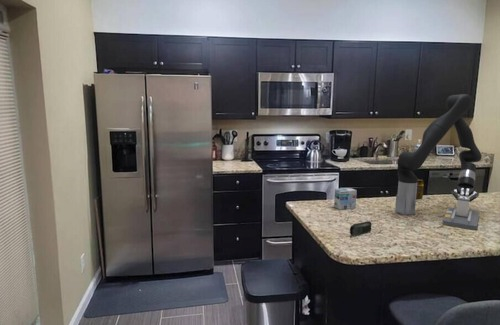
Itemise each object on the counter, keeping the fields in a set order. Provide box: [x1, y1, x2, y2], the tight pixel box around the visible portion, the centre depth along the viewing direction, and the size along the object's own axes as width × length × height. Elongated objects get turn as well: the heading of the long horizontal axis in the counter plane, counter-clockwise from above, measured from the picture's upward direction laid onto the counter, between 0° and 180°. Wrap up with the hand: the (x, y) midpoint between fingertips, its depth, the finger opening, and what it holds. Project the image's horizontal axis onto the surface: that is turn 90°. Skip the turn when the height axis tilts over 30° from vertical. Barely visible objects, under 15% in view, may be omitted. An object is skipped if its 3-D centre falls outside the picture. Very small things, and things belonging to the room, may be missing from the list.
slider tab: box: [456, 196, 470, 217], centre depth 176 cm, size 4×5×9 cm
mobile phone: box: [349, 220, 372, 238], centre depth 156 cm, size 5×3×15 cm
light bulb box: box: [333, 187, 357, 211], centre depth 196 cm, size 11×7×11 cm, turn 105°
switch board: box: [442, 206, 480, 231], centre depth 176 cm, size 28×14×4 cm, turn 145°
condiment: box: [416, 178, 425, 201], centre depth 217 cm, size 7×8×12 cm
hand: (462, 207), depth 178 cm, fingers closed
